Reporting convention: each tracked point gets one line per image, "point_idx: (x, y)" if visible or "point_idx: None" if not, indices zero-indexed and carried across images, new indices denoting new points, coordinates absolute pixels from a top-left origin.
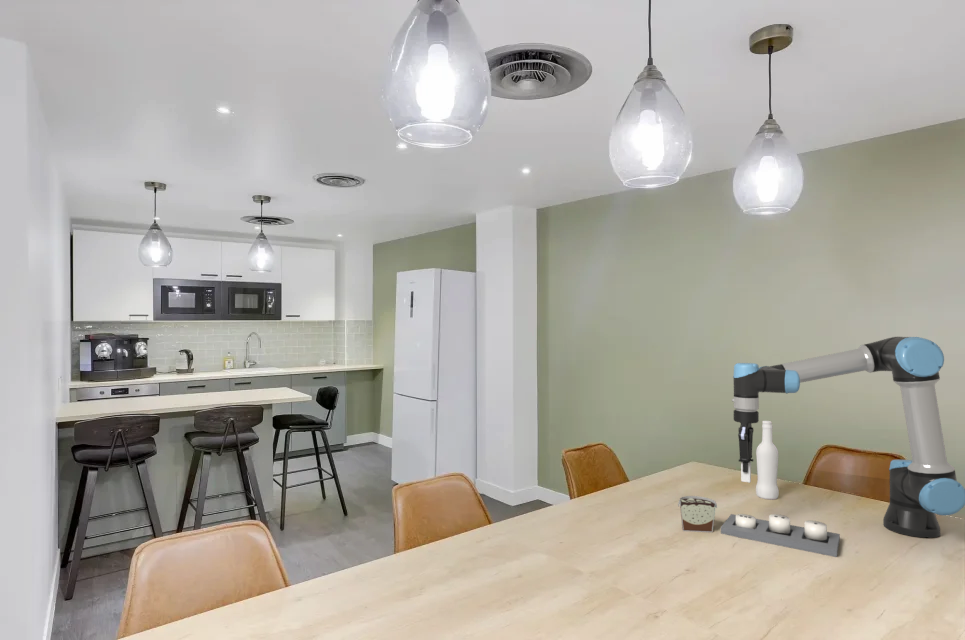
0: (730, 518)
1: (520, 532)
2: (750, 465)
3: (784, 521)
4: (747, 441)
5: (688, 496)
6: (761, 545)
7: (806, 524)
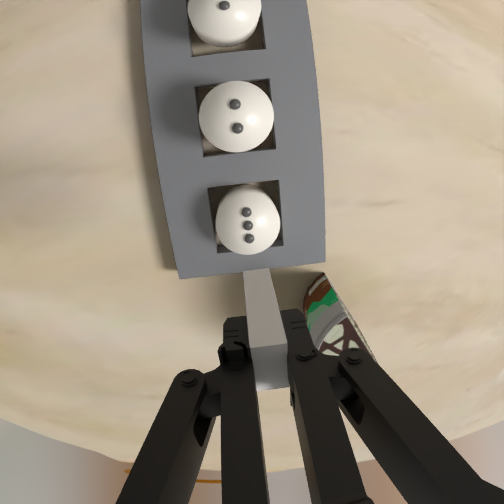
0: (224, 267)
1: (449, 424)
2: (263, 329)
3: (264, 93)
4: (456, 483)
5: None
6: (345, 143)
7: (250, 27)
